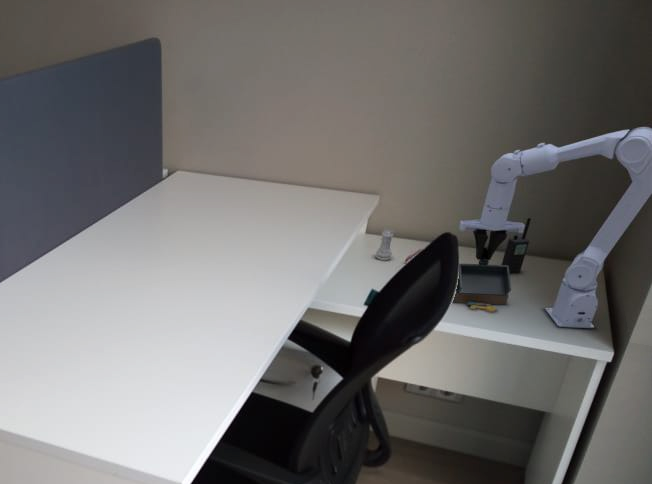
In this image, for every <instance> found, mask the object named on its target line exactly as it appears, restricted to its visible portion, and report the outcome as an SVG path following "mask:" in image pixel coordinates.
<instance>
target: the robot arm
mask: <svg viewBox="0 0 652 484" xmlns="http://www.w3.org/2000/svg"><path fill="white" fill-rule="evenodd" d="M597 155H601V156H603V157H604V158H607V159H609V160H613V159H614V157H615V156H616V159H617V161H618V162H619V163H620V164H621V165H622V166H623V168H626V169H627V172H628V174H629V177H630V179H631V183H630V185H629V186H628V188H627V189H626V191H625V192H624V194H623V195H622V197H621V198H620V200H619V201H618V202H617V204H616V205H615V206H614V208H613V210H612V211H611V213H610V214H609V215H608V217H607V218H606V219H605V221H604V223H603V224H602V225H601V227H600V228H599V230H598V231H597V233H596V234H595V236H594V237H593V238H592V240H591V241H590V243H589V244H588V245H587V247H586V249H584V250H583V251H582V252H580V253H578V254H577V255H576V256H575V257H574V259H573V260H572V262H571V264H570V266H568V267H567V268H566V270H565V271H564V272H565V273H564V277H563V278H562V280H561V283H560V286H559V289H558V293H557V295H556V298H555V301H554V304H553V307H545V309H544V310H545V312H546V313H547V314H548V316H549V317H550V318H551V319H552V320H553V322H554V323H555V325H557V327H559V328H577V329H579V328H581V329H594V328H595V326H594V324H593V323H592V322H593V320H594V317H595V314H596V313H597V310H598V306H599V299H598V298H597V296H596V292H597V288H598V286H599V285H598V282H597V277H598V275H599V274H600V273H601V272H602V270H603V268H604V265H605V264H604V263H605V260H606V258H608V255H609V254H610V252H611V251H612V250H613V248H614V247H615V245H616V244H617V243H618V241H619V240H620V238H622V236H623V234H624V233H625V231H626V230H627V229H628V228H629V226H630V224H631V223H632V222H633V220H634V219H635V218H636V216H637V215H638V213H640V211H641V209H642V208H643V206H644V205H645V204H646V203H647V201H648V199H649V198H650V196H651V195H652V128H651V127H649V126H642V127H641V126H640V127H636V128H633V129H632V130H630V129H622V130H618V131H614V132H609V133H605V134H602V135H598V136H595V137H591V138H588V139H585V140H584V139H583V140H581V141H578V142H574V143H569V144H567V145H564V146H559V147H558V146H555V145H554V144H552V143H548V144H546V143H545V142H541V143H538V144H537V145H536V147H532V148H529V149H525V150H521V149H517V150H515V151H513V152H508V153H505V154H503V155H502V156H501V157H499V158H498V159H497V160H496V161H494V162H493V164H492V166H491V168H490V174H491V179H490V182H489V183H490V184H489V185H488V189H487V191H486V196H485V200H484V204H483V208H482V212H481V216H480V219H472V220H460V222H459V226H458V229H459V231H461V232H465V231H472V232H473V235H474V241H475V258H476V260H480V259H481V258H482V254H483V250H484V247H486V244H487V241H488V244H487V247H486V249H487V259H488V260H489V261H491V259H492V257H493V255H494V254H495V252H496V250H497V249H498V248H499V247H500V245H501V244H502V243H503V242H504V241H505V240H506V239H507V238H508V237H507V236H508V234H507V232H511V233H518V234H523V233H524V229H525V226H526V224H524V223H523V222H518V221H517V222H516V221H509V220H508V216H509V212H510V209H511V205H512V202H513V199H514V194H515V191H516V186H517V182H518V178H519V177H527V176H531V175H536V174H540V173H544V172H548V171H553V170H555V169H556V168H557V166H558V165H559V163H563V162H569V161H572V160H579V159H582V158H587V157H592V156H597ZM488 232H489V236H488Z"/></svg>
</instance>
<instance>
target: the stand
mask: <svg viewBox="0 0 652 484" xmlns="http://www.w3.org/2000/svg"><path fill="white" fill-rule="evenodd" d="M508 298H509V294H508V295H507V296H504V295H482V294H459V293H457V292H456V294H455V297H454V300H453V302H452V303H461V304H462V303H463V304H467V302H476V303H485V304H491V305H507V302H508Z"/></svg>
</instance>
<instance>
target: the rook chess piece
mask: <svg viewBox="0 0 652 484" xmlns="http://www.w3.org/2000/svg"><path fill="white" fill-rule="evenodd" d="M393 236H394V232H393V230H392V229H391V230H390V229H384V230H383V231H382V232H381V243H380V246H379V248H378V249H377V250H376V252H375V258H376V259H377V260H380V261H389V260H391V259H392V254H393V253H392V250H391V243H392V237H393Z"/></svg>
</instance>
